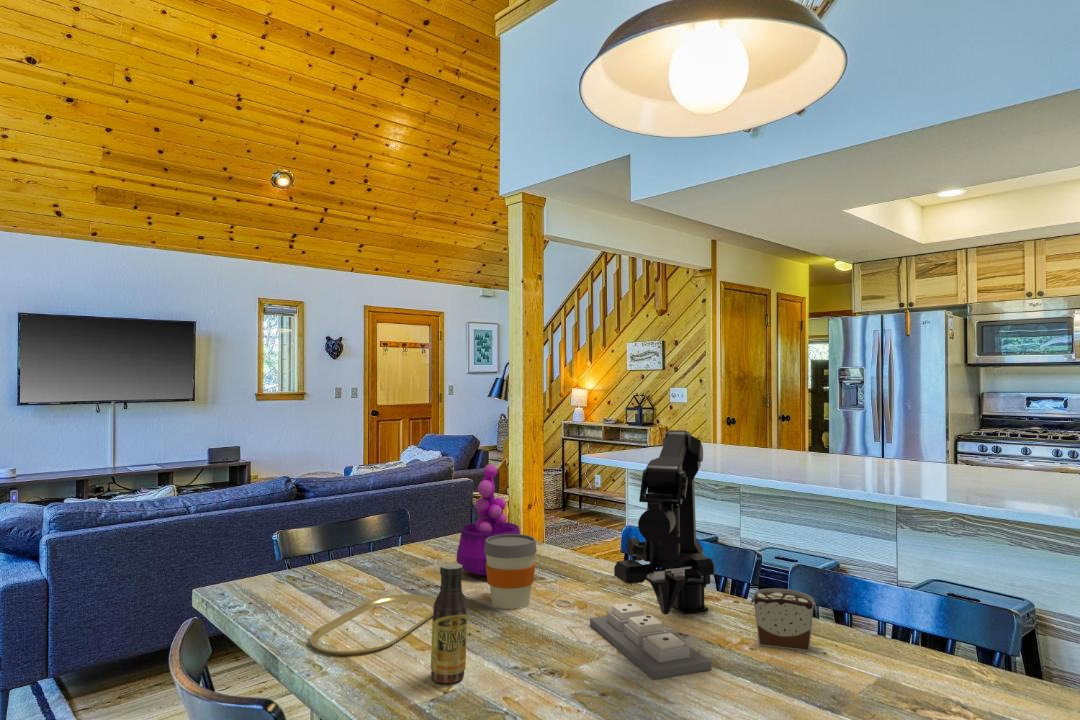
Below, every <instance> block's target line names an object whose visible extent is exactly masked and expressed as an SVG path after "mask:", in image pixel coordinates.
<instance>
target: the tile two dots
mask: <svg viewBox="0 0 1080 720" xmlns="http://www.w3.org/2000/svg"><path fill="white" fill-rule="evenodd" d="M611 611H612V614H613V615H614V616H616V617H617V618H618V619H620V620H621V621H624V620H629V618H630V617H637V616H644V615H645V614H644V613H645V612H644V609H643V608H641V607H640V606H638V605H637V604H635V603H634V602H626V603H617V604H611Z"/></svg>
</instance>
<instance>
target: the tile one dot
mask: <svg viewBox="0 0 1080 720" xmlns="http://www.w3.org/2000/svg"><path fill="white" fill-rule="evenodd" d="M648 641H649V642H650V643H651V644H652V645H654V646H655V647H656V648H658V649H659V650H665V649H671V648H678V647H684V643H685V641H684V640H682V639H680V638H679V637H677V636H676V635H674V634H673V633H672V632H670V633H666V634H659V635H652V636H648Z"/></svg>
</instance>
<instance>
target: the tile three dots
mask: <svg viewBox="0 0 1080 720" xmlns="http://www.w3.org/2000/svg"><path fill="white" fill-rule="evenodd" d="M644 615H645V616H637V617H630V618H629V627H630V628H631V629H633V630H634V631H635V632H637V633H638V634H639V635H641V634H648V633H655V632H662V631H663V628H664V623H663V622H662V621H661V620H659V619H658V618H656V617H654V616H653V615H652V614H644Z"/></svg>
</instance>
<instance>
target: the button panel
mask: <svg viewBox="0 0 1080 720" xmlns="http://www.w3.org/2000/svg"><path fill="white" fill-rule="evenodd" d="M645 615H646V614H644V616H645ZM589 625H591V626H590V627H592V629H594V630H595V629H596V630H597V631H598V632H597V631H596V630H595V631H596V632H597V633H599V635H601V634H602V635H601V636H602V637H603V636H604V637H605V638H604V637H603V638H604V639H606V640H607V641H608V642H609V641H610V642H611V643H612V644H613V645H612V644H611V643H610V642H609V643H610V644H611V645H612V646H614V647H615V648H616V649H617V650H618V649H619V650H620V651H619V650H618V651H619V652H621V654H623V655H624V656H625V657H626V656H627V657H626V658H628V659H629V660H630V661H631V662H632V663H633V664H634V665H636V666H637V667H638V668H639V669H640V670H641V671H643V672H644V673H645V674H646V675H647V676H648V677H649V678H651V679H652V680H658V679H660V680H661V679H665V678H670V677H675V676H676V675H677V676H683V675H687V674H693V673H694V672H695V673H699V672H705V671H711V670H712V661H711V659H708V658H707V657H706V656H704V655H703V654H701V653H700V652H699V651H697V650H695V649H694V648H693V647H691V646H690V645H688V643H685V642H684V647H678V648H671V649H665V650H659V649H658V648H656V647H655V646H654V645H652V644H651V643H650V642H649V641H648V636H652V635H659V634H666V633H671V632H669V631H668V630H667V629H666V628H664V627H663V631H662V632H655V633H648V634H641V635H639V634H638V633H637V632H635V631H634V630H633V629H631V628H630V627H629V620H624V621H621V620H620V619H618V618H617V617H616V616H614V615H613V614H612V610H609V611H607V612H606V615H605V616H598V617H596V616H595V617H590V618H589ZM681 674H682V675H681Z"/></svg>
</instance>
